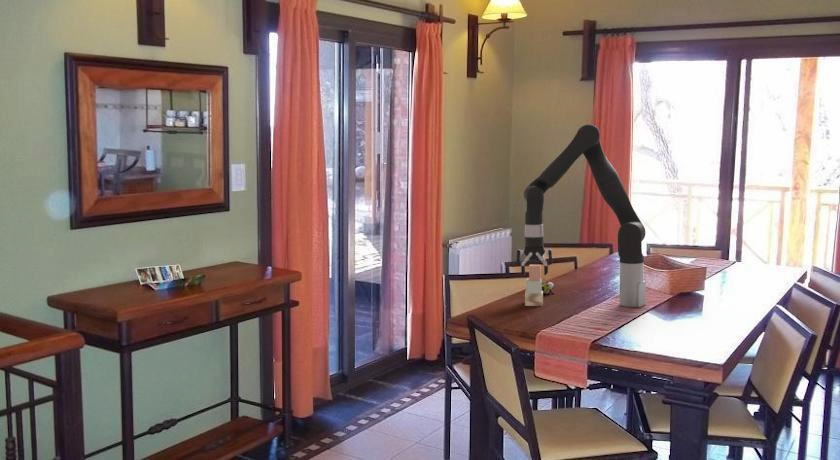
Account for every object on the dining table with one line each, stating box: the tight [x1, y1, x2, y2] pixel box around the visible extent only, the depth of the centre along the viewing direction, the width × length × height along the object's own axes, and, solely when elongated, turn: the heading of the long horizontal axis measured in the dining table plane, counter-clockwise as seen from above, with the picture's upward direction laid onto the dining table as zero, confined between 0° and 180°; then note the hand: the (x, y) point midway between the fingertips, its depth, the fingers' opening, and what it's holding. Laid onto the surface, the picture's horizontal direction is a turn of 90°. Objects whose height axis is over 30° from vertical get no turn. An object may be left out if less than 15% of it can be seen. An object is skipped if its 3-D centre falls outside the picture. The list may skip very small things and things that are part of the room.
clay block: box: [528, 264, 542, 281], centre depth 317 cm, size 4×4×6 cm
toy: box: [542, 278, 555, 295], centre depth 335 cm, size 7×8×15 cm
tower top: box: [525, 278, 543, 294], centre depth 317 cm, size 6×6×5 cm
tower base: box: [524, 290, 544, 307], centre depth 318 cm, size 7×7×5 cm
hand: (534, 274), depth 317 cm, fingers open, 8 cm apart
